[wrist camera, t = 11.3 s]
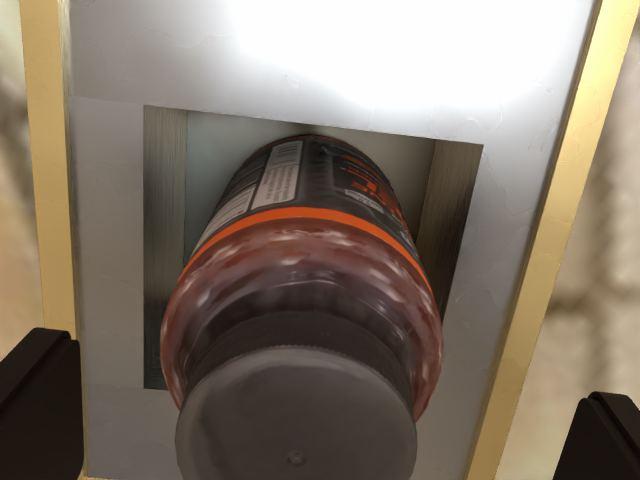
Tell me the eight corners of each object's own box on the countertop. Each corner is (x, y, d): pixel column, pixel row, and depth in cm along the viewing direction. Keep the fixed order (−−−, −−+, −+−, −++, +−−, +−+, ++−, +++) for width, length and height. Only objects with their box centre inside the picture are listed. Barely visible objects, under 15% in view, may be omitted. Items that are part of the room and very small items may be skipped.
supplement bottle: (432, 228, 20) (555, 483, 9) (299, 322, 21) (279, 634, 11) (322, 90, 18) (326, 217, 8) (185, 203, 20) (32, 440, 9)
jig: (447, 407, 23) (481, 519, 18) (114, 375, 22) (56, 482, 17) (549, -2, 17) (642, -2, 12) (103, -61, 16) (13, -84, 12)
